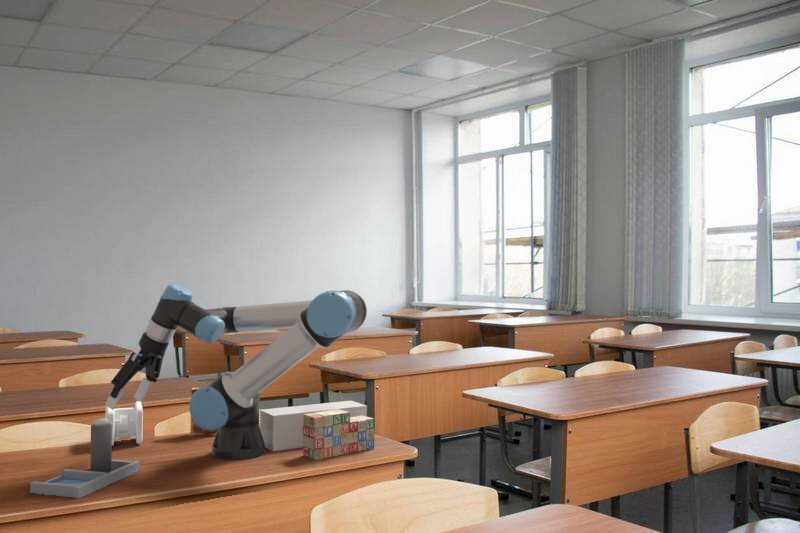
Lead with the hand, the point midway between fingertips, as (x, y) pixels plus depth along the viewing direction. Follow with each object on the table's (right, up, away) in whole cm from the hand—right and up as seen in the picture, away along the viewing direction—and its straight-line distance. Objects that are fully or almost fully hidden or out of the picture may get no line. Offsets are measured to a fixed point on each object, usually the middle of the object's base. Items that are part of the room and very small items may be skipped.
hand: (124, 403), depth 200 cm
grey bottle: (0, -15, -16) cm, 23 cm away
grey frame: (-1, -15, -22) cm, 27 cm away
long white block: (+51, -17, +23) cm, 58 cm away
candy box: (+14, -16, +31) cm, 38 cm away
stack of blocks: (+60, -17, +9) cm, 63 cm away
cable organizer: (-8, -16, +19) cm, 26 cm away
